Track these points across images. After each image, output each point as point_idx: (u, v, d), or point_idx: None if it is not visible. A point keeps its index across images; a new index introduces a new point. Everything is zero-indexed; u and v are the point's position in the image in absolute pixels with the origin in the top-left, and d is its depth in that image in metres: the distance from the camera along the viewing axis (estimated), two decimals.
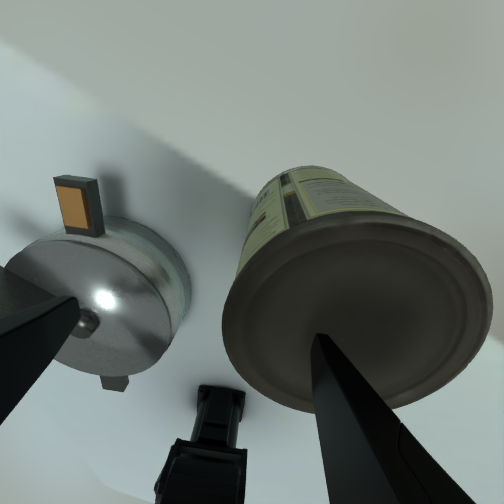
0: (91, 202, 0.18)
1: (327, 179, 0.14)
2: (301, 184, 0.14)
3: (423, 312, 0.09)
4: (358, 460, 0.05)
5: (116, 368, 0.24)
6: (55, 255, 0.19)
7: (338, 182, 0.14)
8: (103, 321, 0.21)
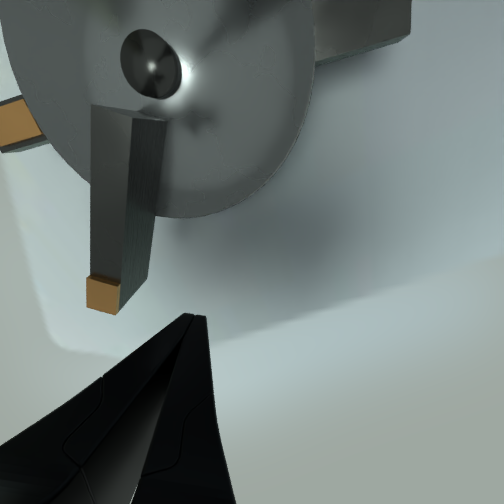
0: None
1: None
2: None
3: None
4: None
5: None
6: (60, 130, 0.13)
7: None
8: (141, 29, 0.11)
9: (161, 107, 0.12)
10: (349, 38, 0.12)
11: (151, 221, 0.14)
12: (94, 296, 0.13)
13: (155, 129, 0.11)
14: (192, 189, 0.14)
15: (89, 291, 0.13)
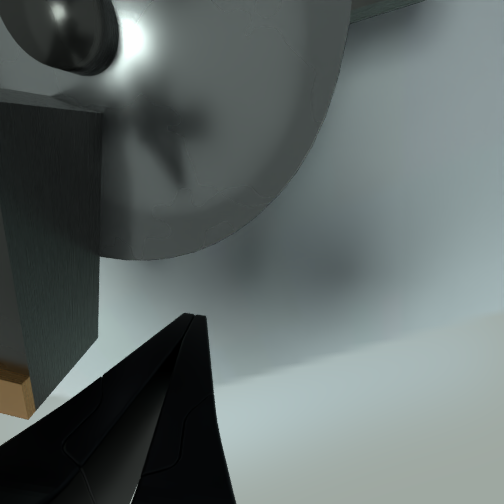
0: None
1: None
2: None
3: None
4: None
5: None
6: None
7: None
8: None
9: (90, 89, 0.07)
10: None
11: (90, 266, 0.09)
12: None
13: (72, 126, 0.07)
14: (151, 219, 0.09)
15: None
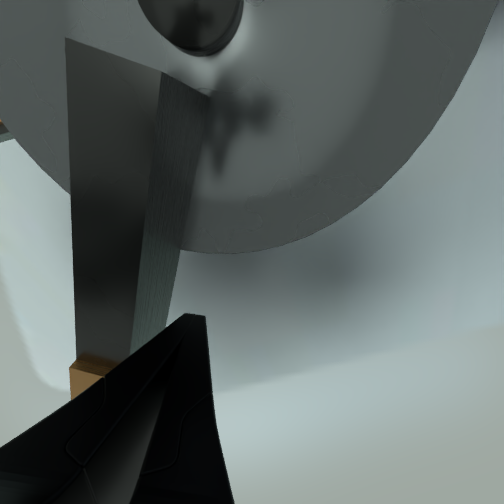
0: None
1: None
2: None
3: None
4: None
5: None
6: (27, 114, 0.08)
7: None
8: None
9: (201, 71, 0.07)
10: None
11: (175, 260, 0.09)
12: None
13: (194, 109, 0.06)
14: (243, 210, 0.09)
15: (75, 386, 0.08)
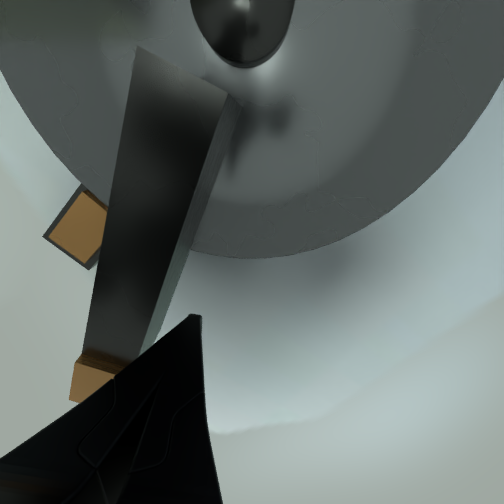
0: (60, 213, 0.11)
1: None
2: None
3: None
4: None
5: None
6: (47, 96, 0.07)
7: None
8: None
9: (237, 82, 0.07)
10: None
11: (184, 259, 0.09)
12: (85, 387, 0.08)
13: (233, 120, 0.06)
14: (258, 218, 0.09)
15: (77, 380, 0.07)
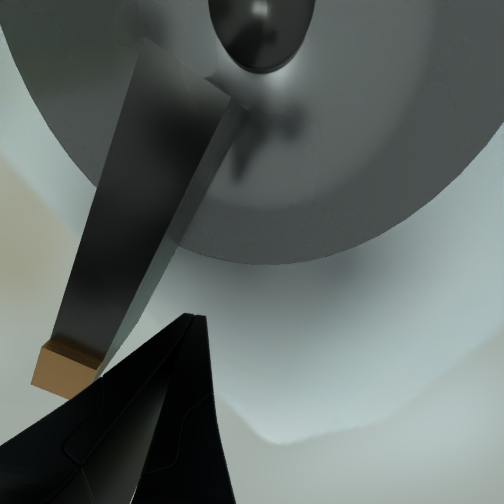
0: None
1: None
2: None
3: None
4: None
5: None
6: (51, 70, 0.07)
7: None
8: None
9: (246, 86, 0.07)
10: None
11: (171, 255, 0.09)
12: (49, 373, 0.07)
13: (236, 124, 0.06)
14: (250, 224, 0.09)
15: (42, 365, 0.07)
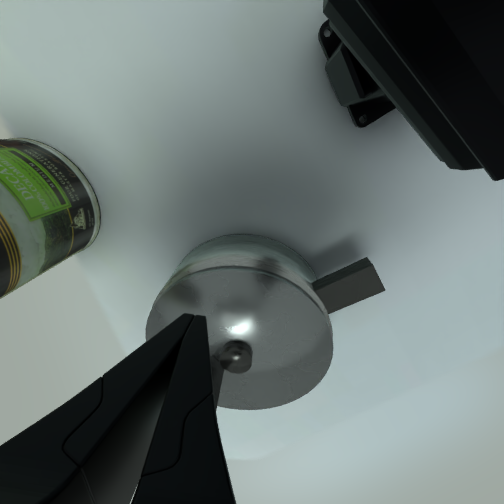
0: None
1: None
2: None
3: None
4: None
5: (316, 360, 0.19)
6: None
7: None
8: (243, 337, 0.18)
9: None
10: (346, 300, 0.18)
11: None
12: None
13: None
14: None
15: None
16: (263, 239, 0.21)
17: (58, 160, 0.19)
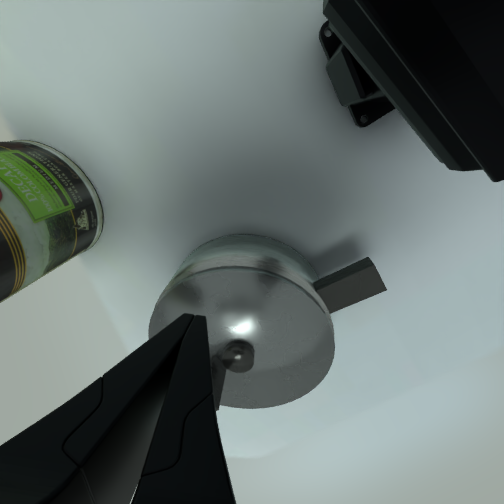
0: None
1: None
2: None
3: None
4: None
5: (318, 359, 0.19)
6: None
7: None
8: (245, 337, 0.19)
9: None
10: (347, 300, 0.18)
11: None
12: None
13: None
14: None
15: None
16: (264, 239, 0.21)
17: (61, 162, 0.19)
